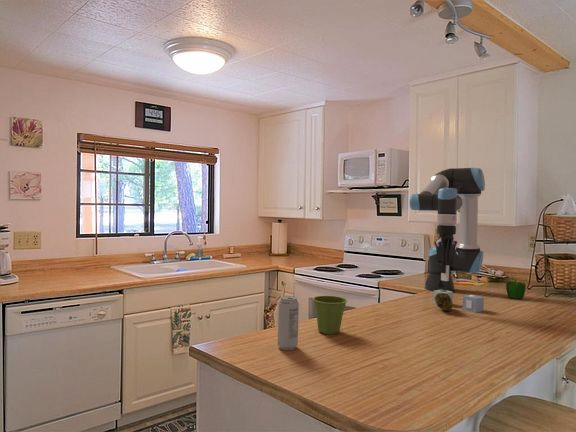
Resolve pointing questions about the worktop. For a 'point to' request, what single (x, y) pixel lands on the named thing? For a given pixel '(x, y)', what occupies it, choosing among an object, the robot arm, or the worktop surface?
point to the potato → (443, 301)
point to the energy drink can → (288, 323)
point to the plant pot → (329, 313)
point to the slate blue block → (473, 303)
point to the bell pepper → (515, 289)
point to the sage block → (442, 292)
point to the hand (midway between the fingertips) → (444, 280)
